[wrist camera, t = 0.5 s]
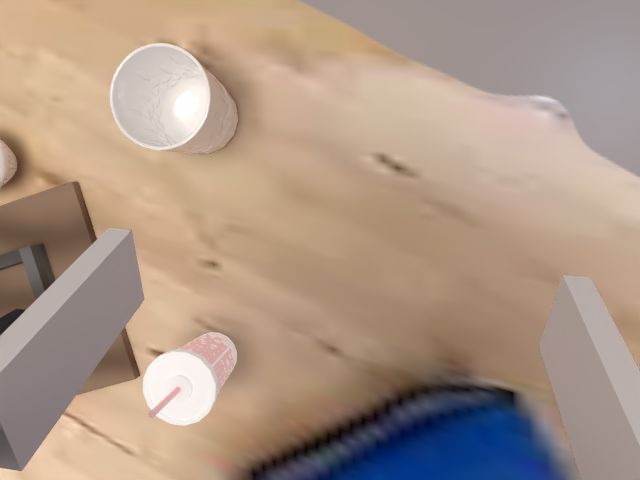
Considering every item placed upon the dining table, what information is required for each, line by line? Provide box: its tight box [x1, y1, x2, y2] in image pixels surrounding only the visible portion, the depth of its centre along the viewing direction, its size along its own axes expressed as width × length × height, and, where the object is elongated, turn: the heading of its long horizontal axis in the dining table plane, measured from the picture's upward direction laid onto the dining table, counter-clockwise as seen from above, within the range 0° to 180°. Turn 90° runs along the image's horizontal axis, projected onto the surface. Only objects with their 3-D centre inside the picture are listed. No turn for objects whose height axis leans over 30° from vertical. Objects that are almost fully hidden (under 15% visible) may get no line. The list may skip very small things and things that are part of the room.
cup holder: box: [0, 182, 140, 395], centre depth 50 cm, size 20×20×3 cm
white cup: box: [110, 43, 238, 154], centre depth 43 cm, size 8×8×10 cm
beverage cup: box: [143, 332, 237, 425], centre depth 43 cm, size 6×6×14 cm
